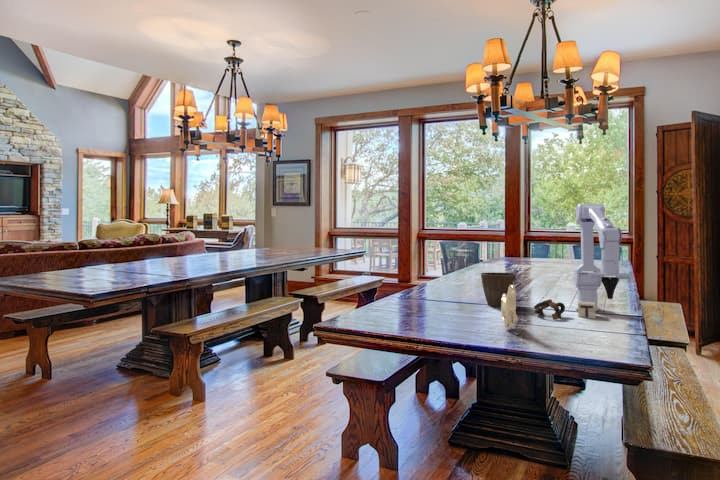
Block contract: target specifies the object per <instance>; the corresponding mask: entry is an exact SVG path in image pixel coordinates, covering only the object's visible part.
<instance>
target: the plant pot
mask: <svg viewBox="0 0 720 480" xmlns="http://www.w3.org/2000/svg"><path fill="white" fill-rule="evenodd" d="M480 276H481V283H482V289H483V293H484V298H485V300H486V303H487V306H488V307H490V306H491V307H493V308H500V309H501V302H502V301H501V299H502V296H503V294H506V295H507V292H508V287H509V285H513V281H514V285H515V284H516V280H517V273H512V272H481V273H480ZM491 307H490V308H491Z"/></svg>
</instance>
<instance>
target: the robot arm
mask: <svg viewBox="0 0 720 480" xmlns="http://www.w3.org/2000/svg"><path fill="white" fill-rule="evenodd" d="M605 208H606V207H605V205H604V204H603V203H602V202H601V203H578V204H577V205H576V207H575V222H576V223H575V224H577V225H579V228H580V255H581V256H580V258H581V259H580V260H581V262H580V265H578V266H577V267H576V268H575V269H574V272H573V279H572V280H573V281H572V282H573V285H574V286H575V287H576V288H577V304H578V303H579V302H595V312H597V311H599V310H601V307H599V304H598V303H599V302H598V299H599V298H598V297H599V296H598V289H599V288H600V287H601V286H602V285H603V287H604V289H605V292H606V298H607V300H613V299H614V294H615V290H616V287H617V286H618V283H619V281H620V280H634V273H623V272H620V244H621V242H622V239H623V233H622V229H621V227H618V226H617V227H616V226H614V224H613V223H612V221H611V220H610V219H609V218H608V217H605V215H606V209H605ZM594 229H595V230H596V231H597V233H598V242H599V248H600V249H601V251H600V252H601V253H600V254H601V256H600V257H601V258H600V259H601V265H600V267H601V269H600V268H599V267H598V266H596V265H595V261H594V260H595V256H594V255H595V254H594V252H595V251H594V250H595V249H594V244H595V243H594ZM575 310H576V311H578V307H575Z"/></svg>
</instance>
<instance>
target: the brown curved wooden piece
mask: <svg viewBox="0 0 720 480" xmlns="http://www.w3.org/2000/svg"><path fill="white" fill-rule="evenodd" d="M533 307H534V313H535V314H537V315H539V316H543V315H545V312H544V311H543V310H544V309H547V308H552V309H553V310H554V311H555V312H554V313H552V314H551V316H552V320H553V321H555V320H558V319H560V320H561V319H562V314H564V312H565V310H566V306H565V304H564V303H563V302H557V303H556V302H553V301H552V299H547V300H544V301H541V302H539V303H537V304H535V305H534V306H533Z"/></svg>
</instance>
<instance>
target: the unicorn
mask: <svg viewBox="0 0 720 480" xmlns="http://www.w3.org/2000/svg"><path fill="white" fill-rule="evenodd" d="M516 286H517V285H516V283H515V285H514V281H513V285H509V287H508V292H507V295H506V294H503V296H502V299H501V301H502V302H501V308H500V312H501V318H502V320H503V322H504V325H503V327H504V328H505V329H506V328H512V327H513V328H515V327H516V326H517V324H518V315H517V312H516V310H517V297H516V295H517V289H516ZM512 319H513V320H512Z"/></svg>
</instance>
